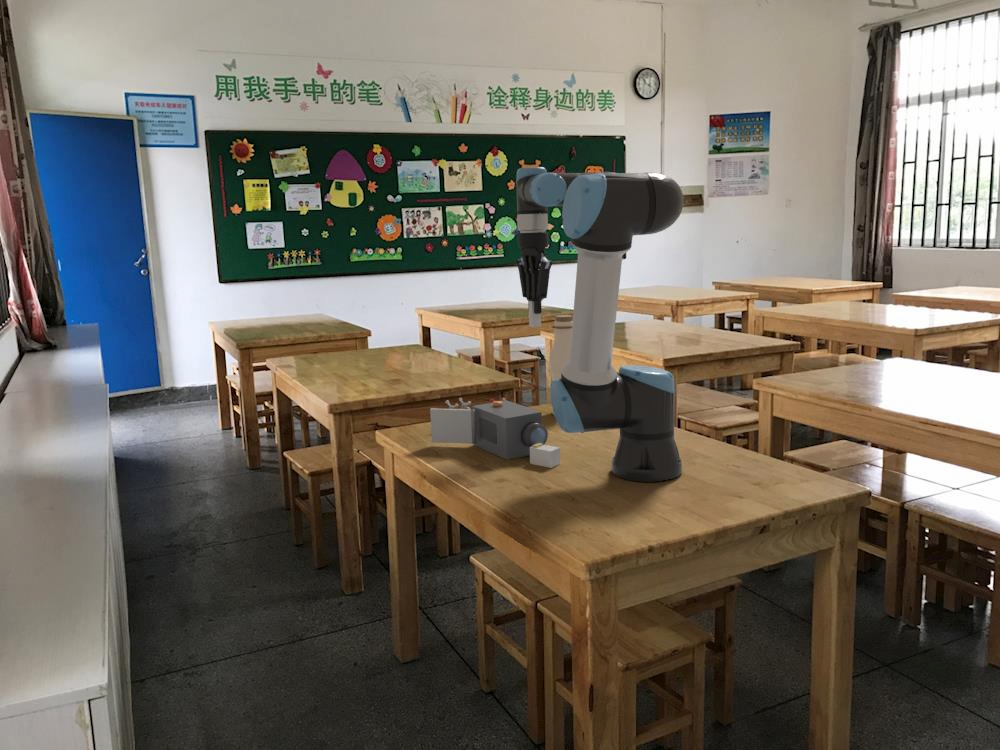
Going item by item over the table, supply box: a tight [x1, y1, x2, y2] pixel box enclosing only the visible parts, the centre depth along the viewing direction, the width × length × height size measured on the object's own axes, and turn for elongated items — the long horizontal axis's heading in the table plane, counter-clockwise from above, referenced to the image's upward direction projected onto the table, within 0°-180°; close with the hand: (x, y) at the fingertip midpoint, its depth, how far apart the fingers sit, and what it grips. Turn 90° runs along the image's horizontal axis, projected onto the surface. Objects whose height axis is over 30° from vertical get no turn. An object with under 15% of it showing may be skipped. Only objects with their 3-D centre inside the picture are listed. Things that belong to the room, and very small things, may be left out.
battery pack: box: [529, 443, 561, 469], centre depth 186 cm, size 6×4×4 cm, turn 50°
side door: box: [429, 407, 477, 445], centre depth 203 cm, size 12×2×8 cm, turn 75°
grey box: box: [471, 399, 549, 461], centre depth 198 cm, size 19×10×11 cm, turn 31°
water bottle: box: [548, 314, 573, 415], centre depth 231 cm, size 10×9×28 cm
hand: (535, 326), depth 206 cm, fingers closed
